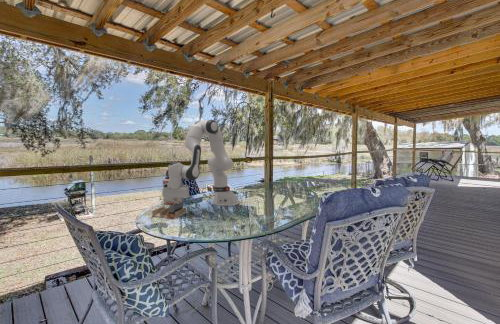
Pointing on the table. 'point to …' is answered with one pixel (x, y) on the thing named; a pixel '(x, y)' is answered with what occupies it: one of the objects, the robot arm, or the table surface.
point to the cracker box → (167, 199)
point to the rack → (168, 213)
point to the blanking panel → (176, 207)
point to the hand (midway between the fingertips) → (176, 203)
